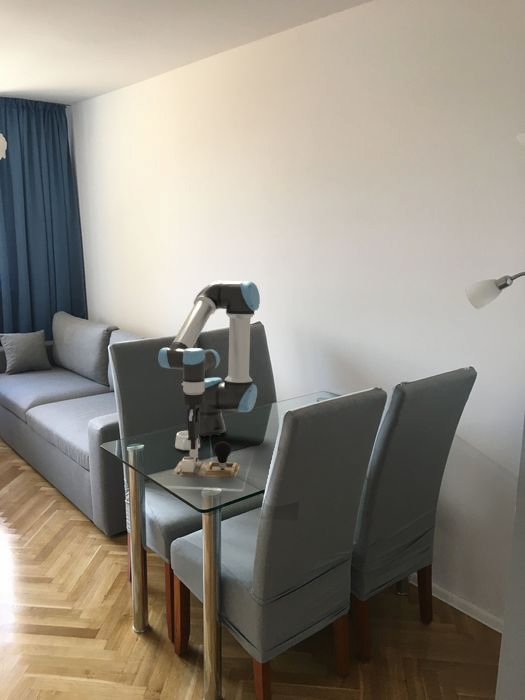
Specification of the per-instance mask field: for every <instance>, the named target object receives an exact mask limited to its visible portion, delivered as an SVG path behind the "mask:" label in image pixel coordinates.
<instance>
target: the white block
mask: <svg viewBox="0 0 525 700" xmlns="http://www.w3.org/2000/svg"><path fill="white" fill-rule="evenodd" d="M196 459H197V458H196V457H190V456H183V457H182V459H181V461H182V472H194V470H195V469H196V462H197V461H196Z"/></svg>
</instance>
